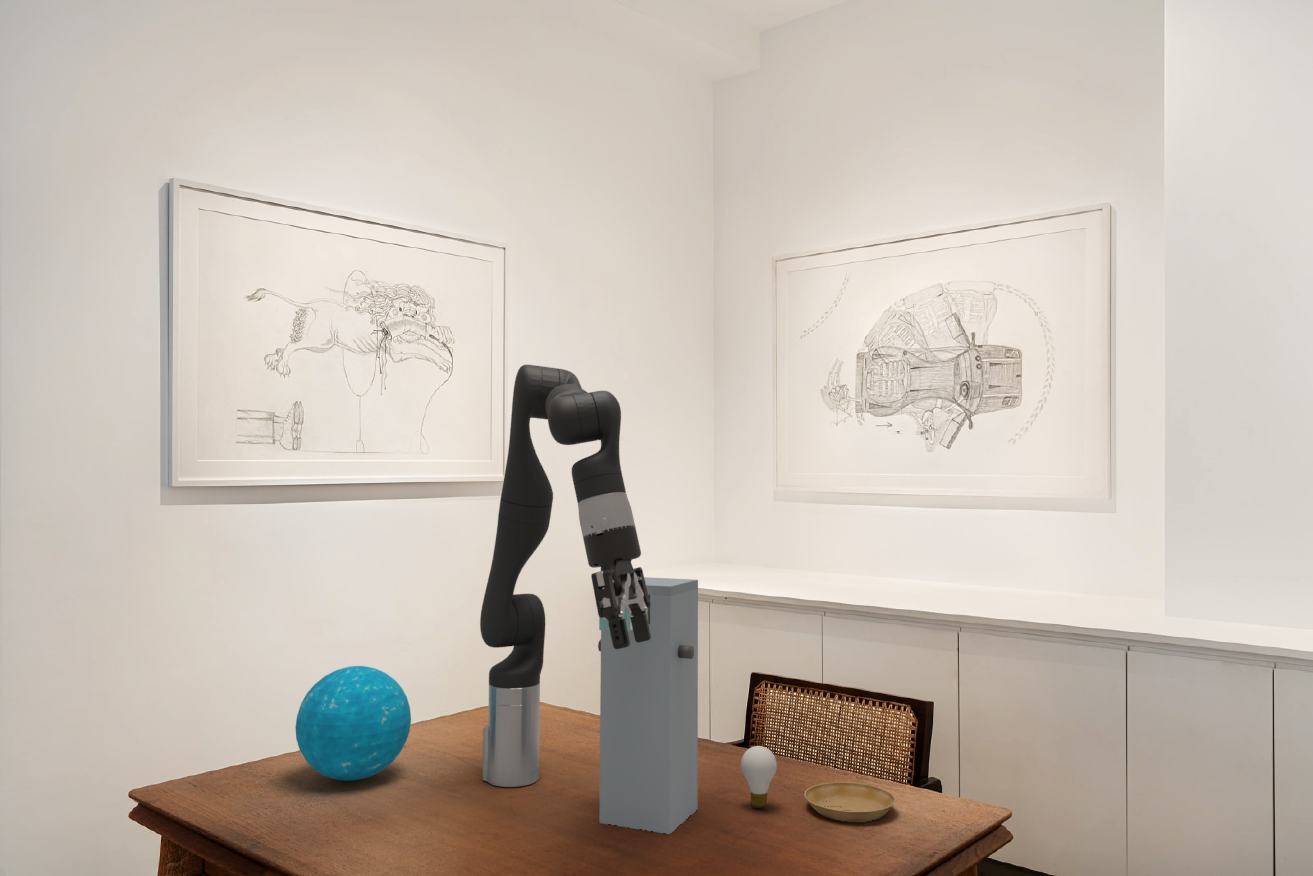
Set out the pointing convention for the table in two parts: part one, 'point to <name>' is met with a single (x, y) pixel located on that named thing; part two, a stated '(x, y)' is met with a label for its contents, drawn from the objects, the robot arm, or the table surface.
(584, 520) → the robot arm
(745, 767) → the light bulb
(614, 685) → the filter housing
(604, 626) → the block
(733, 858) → the table surface
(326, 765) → the decorative sphere
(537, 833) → the table surface
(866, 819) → the plant saucer
